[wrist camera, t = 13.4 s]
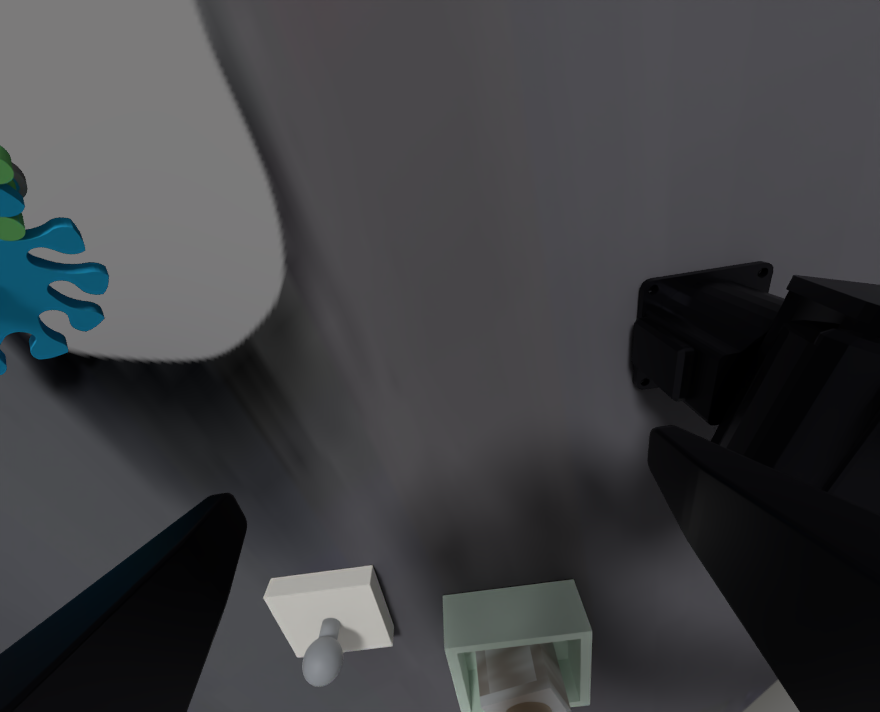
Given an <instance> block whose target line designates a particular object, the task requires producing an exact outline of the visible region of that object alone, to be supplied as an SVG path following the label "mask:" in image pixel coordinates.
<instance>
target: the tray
mask: <svg viewBox="0 0 880 712" xmlns="http://www.w3.org/2000/svg"><path fill="white" fill-rule="evenodd" d="M443 622H444V649H445V653H446V657H447V660H448V664H449V668H450V672H451V675H452V679H453V683H454V687H455V690H456V694H457V698H458V702H459V705H460V709H461V712H485V711H484V710H483V709H482V708H481V704H480V694H479V684H478V674H477V664H476V653H475V651H483V650H491V649H499V648H508V647H516V646H525V645H533V644H541V643H550V642H553V645H554V649H555V652H556V656H557V660H558V663H559V667H560V671H561V675H562V678H563V682H564V686H565V690H566V693H567V697H568V701H569V705H570V707H578V706H587V705H590V687H591V657H592V629H591V626H590V623H589V620H588V618H587V615H586V612H585V609H584V607H583V604H582V601H581V598H580V596H579V593H578V590H577V587H576V585H575V582H574V579H571V580H563V581H555V582H547V583H539V584H531V585H523V586H515V587H507V588H499V589H491V590H483V591H475V592H467V593H459V594H451V595H444V596H443Z"/></svg>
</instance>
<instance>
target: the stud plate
mask: <svg viewBox="0 0 880 712" xmlns="http://www.w3.org/2000/svg"><path fill="white" fill-rule="evenodd" d="M263 598H264V600H265V602H266V604H267V605H268V607H269V609H270V611H271V612H272V614H273V616H274V618H275V619H276V621H277V623H278V624H279V626H280V628H281V630H282V631H283V633H284V635H285V637H286V638H287V640H288V642H289V644H290V645H291V647H292V649H293V651H294V652H295V654H296V656H297V657H304V658H303V663H302V670H303V674H304V677H305V679H306V680H307V682H308V683H310V684H311V685H313V686H316V687H322V686H325V685H328V684H329V683H331V682H332V681H333V680H334V679H335V678H336V677H337V675H338V674H339V672H340V670H341V667H342V664H343V652H348V651H357V650H365V649H373V648H381V647H390V646H393V634H394V625H393V622H392V619H391V616H390V613H389V610H388V608H387V605H386V602H385V599H384V596H383V593H382V591H381V588H380V585H379V582H378V579H377V576H376V574H375V571H374V568H373V565H369V566H362V567H354V568H346V569H339V570H331V571H323V572H316V573H308V574H300V575H292V576H285V577H277V578H271V580H270V582H269V585H268V587H267V590H266V592H265V595H264V597H263Z"/></svg>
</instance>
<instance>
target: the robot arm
mask: <svg viewBox="0 0 880 712" xmlns="http://www.w3.org/2000/svg"><path fill="white" fill-rule="evenodd" d="M761 269H762V271H761V273H760V274H759V275H758V272H759V271H760V270H761ZM772 274H773V266H772V265H771V264H770V263H767V262H763V261H758V262H752V263H745V264H739V265H732V266H726V267H720V268H713V269H707V270H701V271H694V272H688V273H682V274H675V275H669V276H663V277H656V278H650V279H647V280H646V281H644V282H643V283H642V285H641V287H640V294H639V307H638V319H637V320H636V322H635V323H634V336H633V350H632V363H633V364H634V373H633V383H634V384H635V385H636V386H637V387H638V388H639V389H651V388H658V387H660V388H661V389H662V390H663V391H664V392H665V393H666V394H667V395H668V396H670V397H671V398H672V399H673V400H675V401H683V402H684V403H686V404H687V405H688V406H689V407H690V408H691V409H692V410H694V411H695V412H696V413H697V414H698V415H699V416H701V417H702V418H703V419H704V420H705V421H706V422H707V423H709V424H710V425H719V426H718V428H717V430H716V432H715V434H714V436H713V438H712V440H711V441H708V440H706V439H704V438H702V437H699V436H697V435H695V434H692V433H690V432H688V431H686V430H683V429H681V428H679V427H676V426H673V425H669V426H662V427H656V428H653V429H652V430H651V432H650V437H649V448H648V465H649V468H650V471H651V473H652V474H653V476H654V478H655V480H656V482H657V484H658V486H659V488H660V490H661V492H662V494H663V496H664V497H665V499H666V501H667V503H668V505H669V507H670V509H671V511H672V513H673V515H674V517H675V518H676V520H677V522H678V524H679V526H680V528H681V530H682V532H683V533H684V535H685V537H686V539H687V541H688V542H689V544H690V545H691V547H692V548H693V550H694V552H695V553H696V555H697V556H698V558H699V559H700V561H701V562H702V564H703V565H704V567H705V568H706V570H707V571H708V573H709V574H710V576H711V578H712V579H713V581H714V582H715V584H716V585H717V587H718V588H719V590H720V591H721V593H722V594H723V596H724V597H725V599H726V600H727V602H728V603H729V605H730V606H731V608H732V609H733V611H734V612H735V614H736V616H737V617H738V619H739V620H740V622H741V623H742V625H743V626H744V628H745V629H746V631H747V632H748V634H749V635H750V637H751V638H752V640H753V641H754V643H755V644H756V646H757V647H758V649H759V650H760V652H761V654H762V655H763V657H764V658H765V660H766V661H767V663H768V664H769V666H770V667H771V669H772V670H773V672H774V673H775V675H776V676H777V678H778V679H779V681H780V682H781V684H782V685H783V687H784V688H785V690H786V692H787V693H788V695H789V696H790V698H791V699H792V701H793V702H794V704H795V705H796V707H797V708H798V710H799V711H800V712H880V285H876V284H868V283H859V282H850V281H842V280H833V279H825V278H816V277H808V276H799V275H793V277H792V279H791V281H790V283H789V285H788V286H787V288H786V289H787V290H789V292H788V294H787V296H786V298H785V299H784V298H781V297H778V296H775V295H772V294H769V293H768V292H769V287H770V283H771V278H772ZM653 285H654V290H653V291H652V292H649V288H650V287H651V286H653ZM645 378H646V380H645V381H644V382H641V381H642V380H643V379H645ZM246 530H247V521H246V518H245V516H244V514H243V512H242V510H241V508H240V506H239V505H238V503H237V501H236V499H235V497H234V496H233V495H232V494H230V493H222V494H215V495H211V496H209V497H207V498H206V499H204V500H203V501H202V502H200V503H199V504H198V505H196V506H195V507H194V508H193V509H191V510H190V511H189V512H187V513H186V514H185V515H183V516H182V517H181V518H179V519H178V520H177V521H175V522H174V523H173V524H171V525H170V526H169V527H167V528H166V529H165V530H163V531H162V532H161V533H159V534H158V535H157V536H156V537H154V538H153V539H152V540H150V541H149V542H148V543H146V544H145V545H144V546H142V547H141V548H140V549H138V550H137V551H136V552H134V553H133V554H132V555H130V556H129V557H128V558H126V559H125V560H124V561H122V562H121V563H120V564H119V565H117V566H116V567H115V568H113V569H112V570H111V571H109V572H108V573H107V574H105V575H104V576H103V577H101V578H100V579H99V580H97V581H96V582H95V583H93V584H92V585H91V586H89V587H88V588H87V589H86V590H84V591H83V592H82V593H80V594H79V595H78V596H76V597H75V598H74V599H72V600H71V601H70V602H68V603H67V604H66V605H64V606H63V607H62V608H60V609H59V610H58V611H56V612H55V613H54V614H52V615H51V616H50V617H49V618H47V619H46V620H45V621H43V622H42V623H41V624H39V625H38V626H37V627H35V628H34V629H33V630H31V631H30V632H29V633H27V634H26V635H25V636H23V637H22V638H21V639H19V640H18V641H17V642H15V643H14V644H13V645H12V646H10V647H9V648H8V649H6V650H5V651H4V652H2V653H1V654H0V712H187V710H188V707H189V704H190V702H191V699H192V696H193V693H194V691H195V688H196V685H197V683H198V680H199V677H200V675H201V672H202V669H203V666H204V664H205V661H206V658H207V656H208V653H209V650H210V648H211V645H212V642H213V639H214V637H215V634H216V631H217V629H218V626H219V623H220V620H221V618H222V615H223V612H224V609H225V606H226V603H227V600H228V596H229V593H230V590H231V586H232V582H233V579H234V575H235V571H236V568H237V564H238V560H239V556H240V553H241V549H242V545H243V542H244V538H245V534H246Z"/></svg>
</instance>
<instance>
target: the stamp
mask: <svg viewBox="0 0 880 712" xmlns="http://www.w3.org/2000/svg"><path fill="white" fill-rule="evenodd" d="M475 653H476V664H477V674H478V684H479V694H480V704H481V708H482V709H483V710H484V711H485V712H571V708H570V705H569V701H568V697H567V693H566V690H565V686H564V682H563V678H562V675H561V671H560V667H559V663H558V660H557V656H556V652H555V649H554V645H553V642H550V643H541V644H533V645H525V646H516V647H508V648H499V649H491V650H483V651H475Z"/></svg>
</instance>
